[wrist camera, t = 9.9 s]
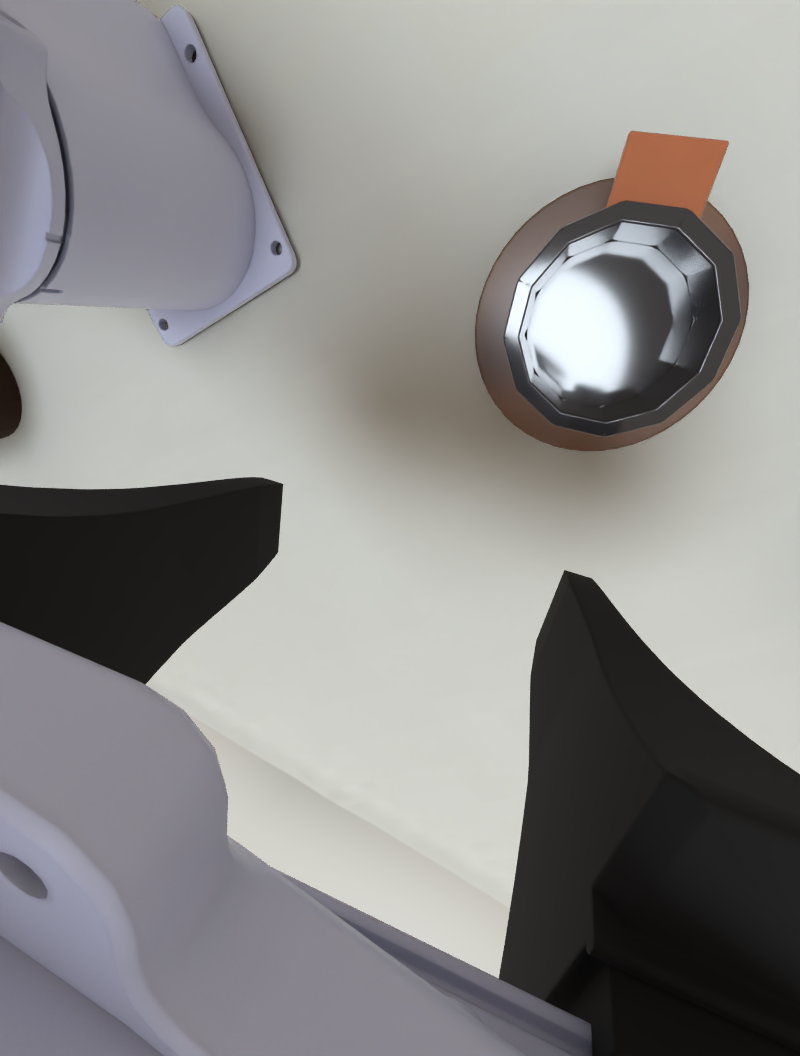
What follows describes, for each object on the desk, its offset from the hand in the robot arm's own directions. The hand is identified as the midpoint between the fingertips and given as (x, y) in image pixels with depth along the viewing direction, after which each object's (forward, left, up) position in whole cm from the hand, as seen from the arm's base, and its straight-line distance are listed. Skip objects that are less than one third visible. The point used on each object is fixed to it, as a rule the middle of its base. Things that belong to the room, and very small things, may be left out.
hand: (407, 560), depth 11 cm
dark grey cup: (-3, +6, -10) cm, 12 cm away
